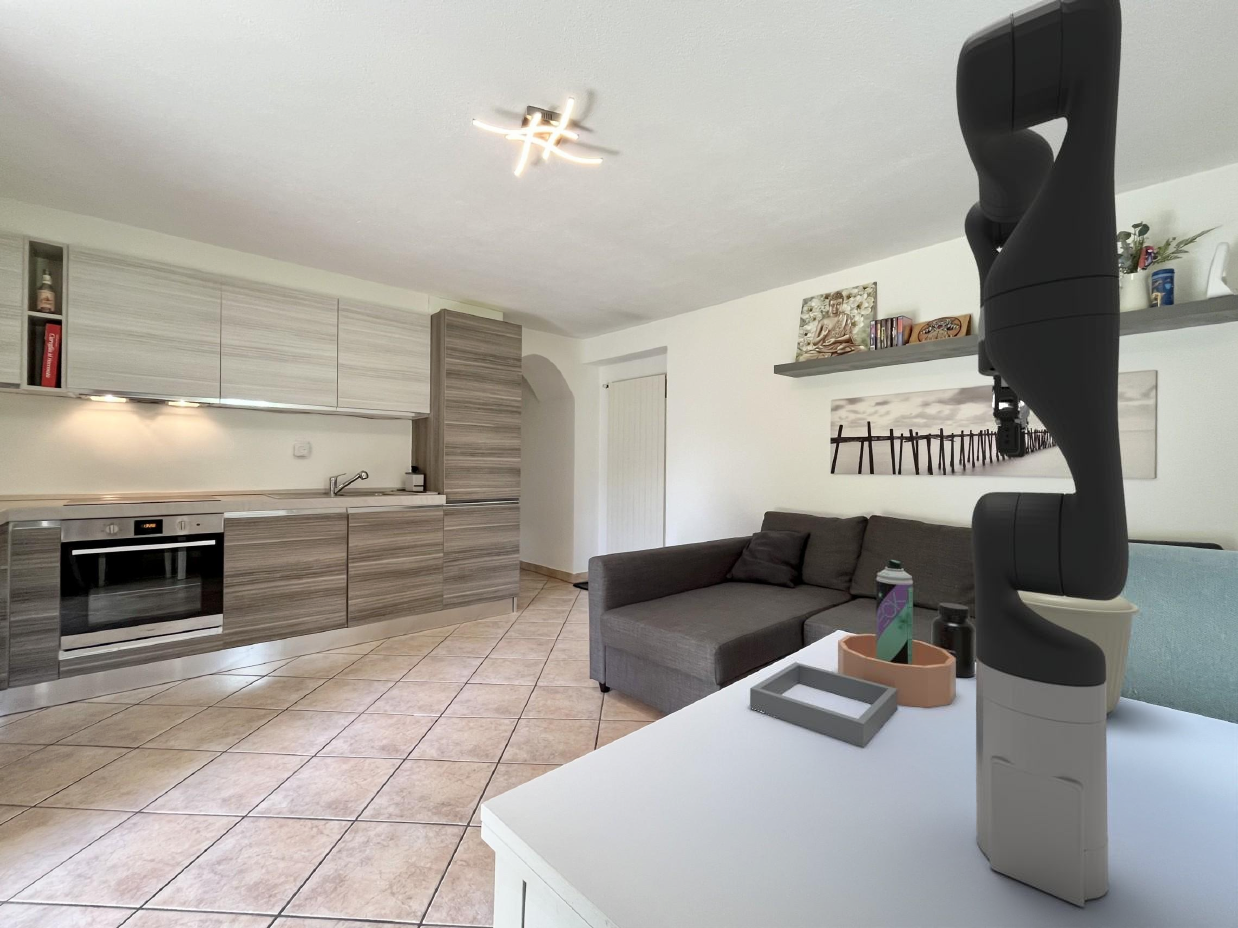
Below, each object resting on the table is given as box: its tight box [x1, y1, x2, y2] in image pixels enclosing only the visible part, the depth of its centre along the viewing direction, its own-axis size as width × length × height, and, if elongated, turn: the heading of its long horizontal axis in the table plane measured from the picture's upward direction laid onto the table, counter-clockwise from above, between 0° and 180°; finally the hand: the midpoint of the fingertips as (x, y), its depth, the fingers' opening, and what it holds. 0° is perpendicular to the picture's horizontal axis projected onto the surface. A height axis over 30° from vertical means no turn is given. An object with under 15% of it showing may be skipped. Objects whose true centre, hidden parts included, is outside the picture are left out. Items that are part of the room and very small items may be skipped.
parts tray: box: [749, 661, 898, 748], centre depth 77 cm, size 16×16×3 cm
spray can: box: [875, 559, 914, 665], centre depth 88 cm, size 6×6×20 cm
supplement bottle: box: [930, 602, 976, 679], centre depth 95 cm, size 7×7×12 cm
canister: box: [1018, 591, 1140, 714], centre depth 82 cm, size 18×18×21 cm
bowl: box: [837, 633, 957, 709], centre depth 87 cm, size 17×17×6 cm
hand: (1012, 455), depth 70 cm, fingers open, 8 cm apart
